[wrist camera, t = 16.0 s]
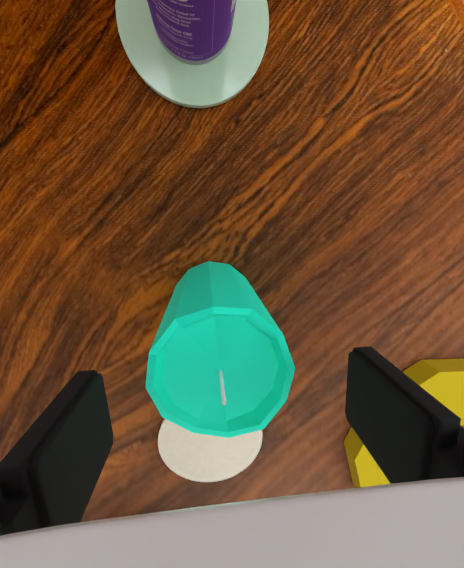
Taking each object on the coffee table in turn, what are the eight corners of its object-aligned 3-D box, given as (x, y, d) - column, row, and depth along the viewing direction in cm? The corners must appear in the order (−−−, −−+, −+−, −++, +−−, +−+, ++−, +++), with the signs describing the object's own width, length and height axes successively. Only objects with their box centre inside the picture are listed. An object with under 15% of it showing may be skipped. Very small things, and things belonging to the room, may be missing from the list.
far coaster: (164, 483, 25) (163, 488, 24) (152, 397, 23) (151, 401, 22) (262, 470, 26) (263, 475, 25) (260, 386, 23) (261, 389, 23)
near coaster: (129, 109, 17) (127, 106, 17) (106, -74, 15) (103, -83, 15) (268, 107, 18) (270, 104, 18) (266, -68, 16) (268, -77, 15)
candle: (266, 306, 22) (338, 412, 10) (205, 349, 22) (206, 500, 10) (221, 244, 20) (245, 285, 8) (156, 292, 20) (94, 393, 9)
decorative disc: (311, 429, 25) (320, 447, 23) (481, 321, 24) (505, 330, 22) (388, 531, 29) (401, 554, 27) (535, 443, 28) (559, 460, 26)
